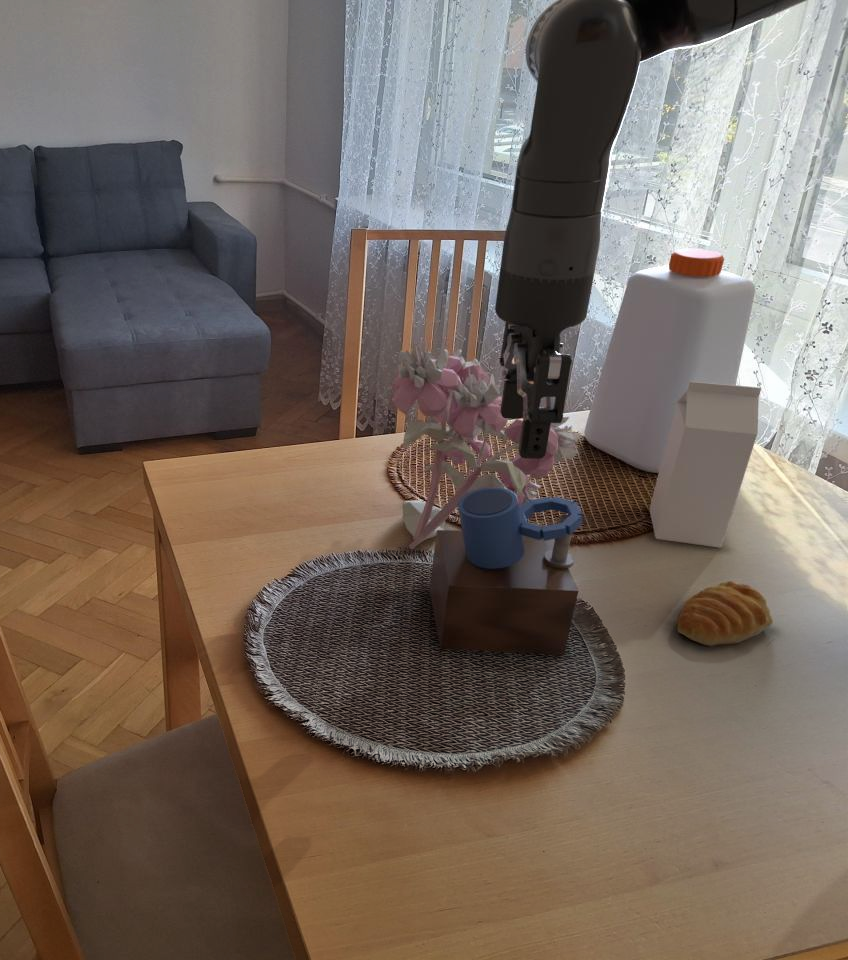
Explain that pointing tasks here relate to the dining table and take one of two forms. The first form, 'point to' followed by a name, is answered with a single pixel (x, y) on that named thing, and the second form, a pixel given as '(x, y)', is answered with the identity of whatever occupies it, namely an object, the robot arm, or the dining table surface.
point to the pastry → (724, 615)
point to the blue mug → (508, 525)
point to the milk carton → (704, 462)
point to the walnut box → (503, 598)
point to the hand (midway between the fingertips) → (521, 435)
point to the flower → (465, 434)
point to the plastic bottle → (667, 351)
